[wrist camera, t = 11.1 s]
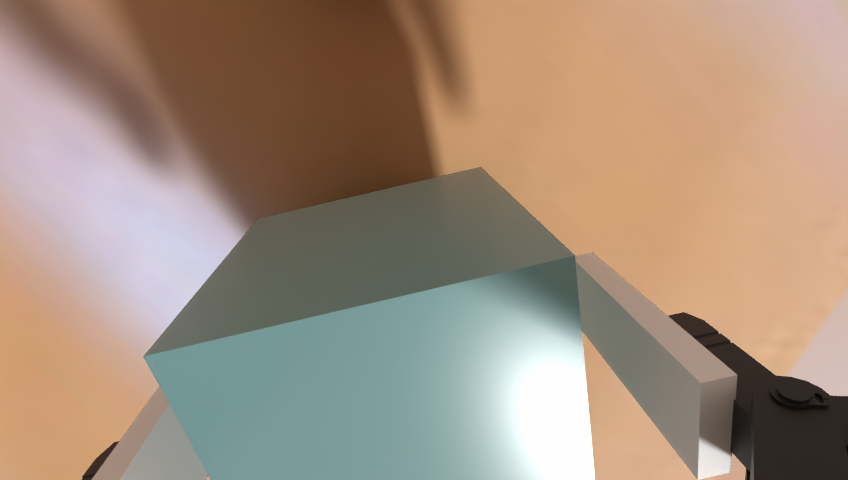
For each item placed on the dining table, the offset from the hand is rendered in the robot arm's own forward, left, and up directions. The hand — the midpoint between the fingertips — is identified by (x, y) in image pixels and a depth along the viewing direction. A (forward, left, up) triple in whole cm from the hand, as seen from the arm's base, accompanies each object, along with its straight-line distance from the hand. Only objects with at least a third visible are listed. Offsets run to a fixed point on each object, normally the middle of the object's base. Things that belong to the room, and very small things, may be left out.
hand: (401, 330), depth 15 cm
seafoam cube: (0, 0, -3) cm, 3 cm away
